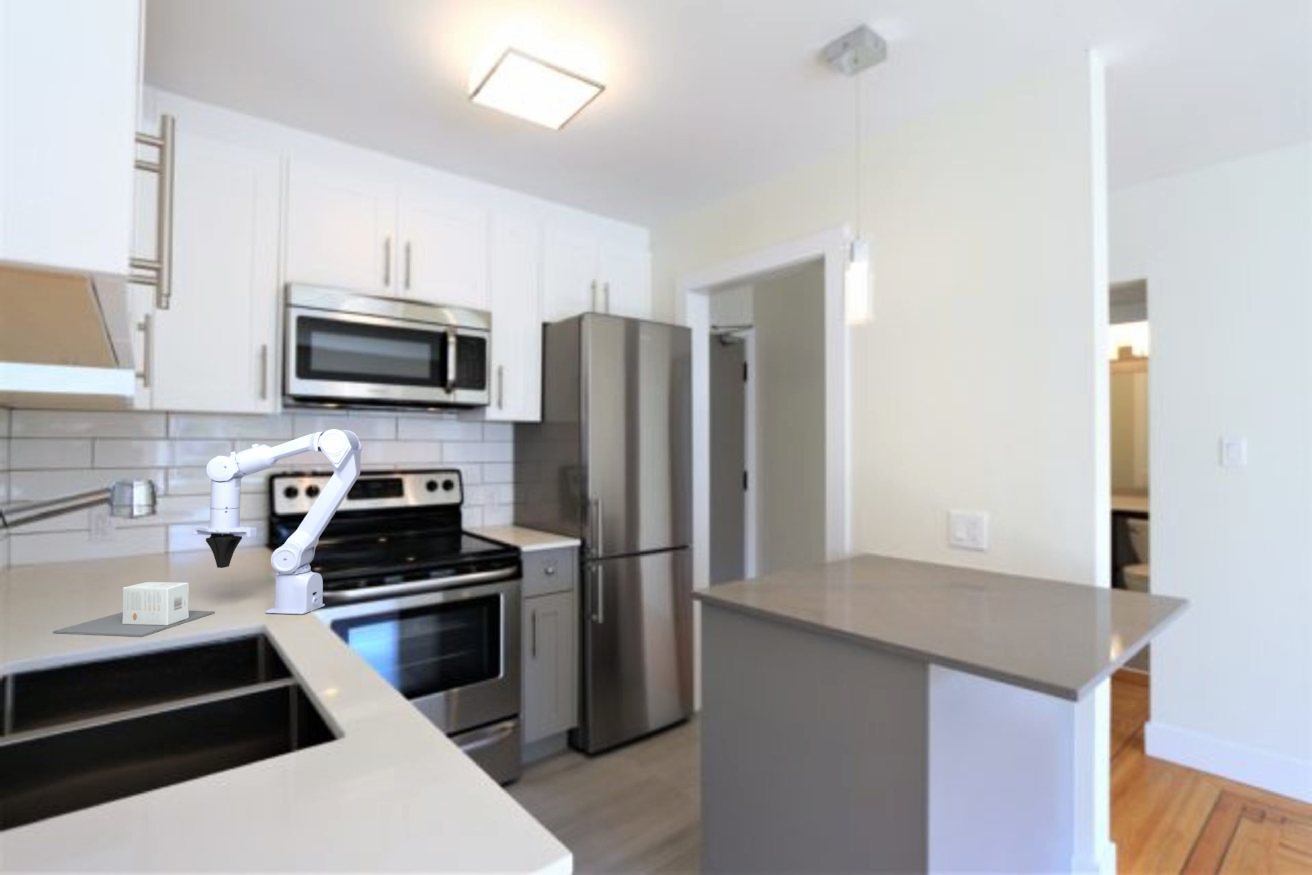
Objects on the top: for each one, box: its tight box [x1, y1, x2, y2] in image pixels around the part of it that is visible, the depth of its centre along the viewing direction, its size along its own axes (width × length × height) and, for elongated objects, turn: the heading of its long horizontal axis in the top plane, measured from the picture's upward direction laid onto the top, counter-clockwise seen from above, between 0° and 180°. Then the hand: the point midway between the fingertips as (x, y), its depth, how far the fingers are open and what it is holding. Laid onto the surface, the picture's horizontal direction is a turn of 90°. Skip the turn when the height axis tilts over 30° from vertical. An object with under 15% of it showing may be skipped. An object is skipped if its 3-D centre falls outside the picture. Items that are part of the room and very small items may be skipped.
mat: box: [52, 609, 216, 638], centre depth 135 cm, size 20×18×1 cm
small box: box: [122, 581, 190, 626], centre depth 134 cm, size 8×6×10 cm
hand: (223, 567), depth 143 cm, fingers closed
